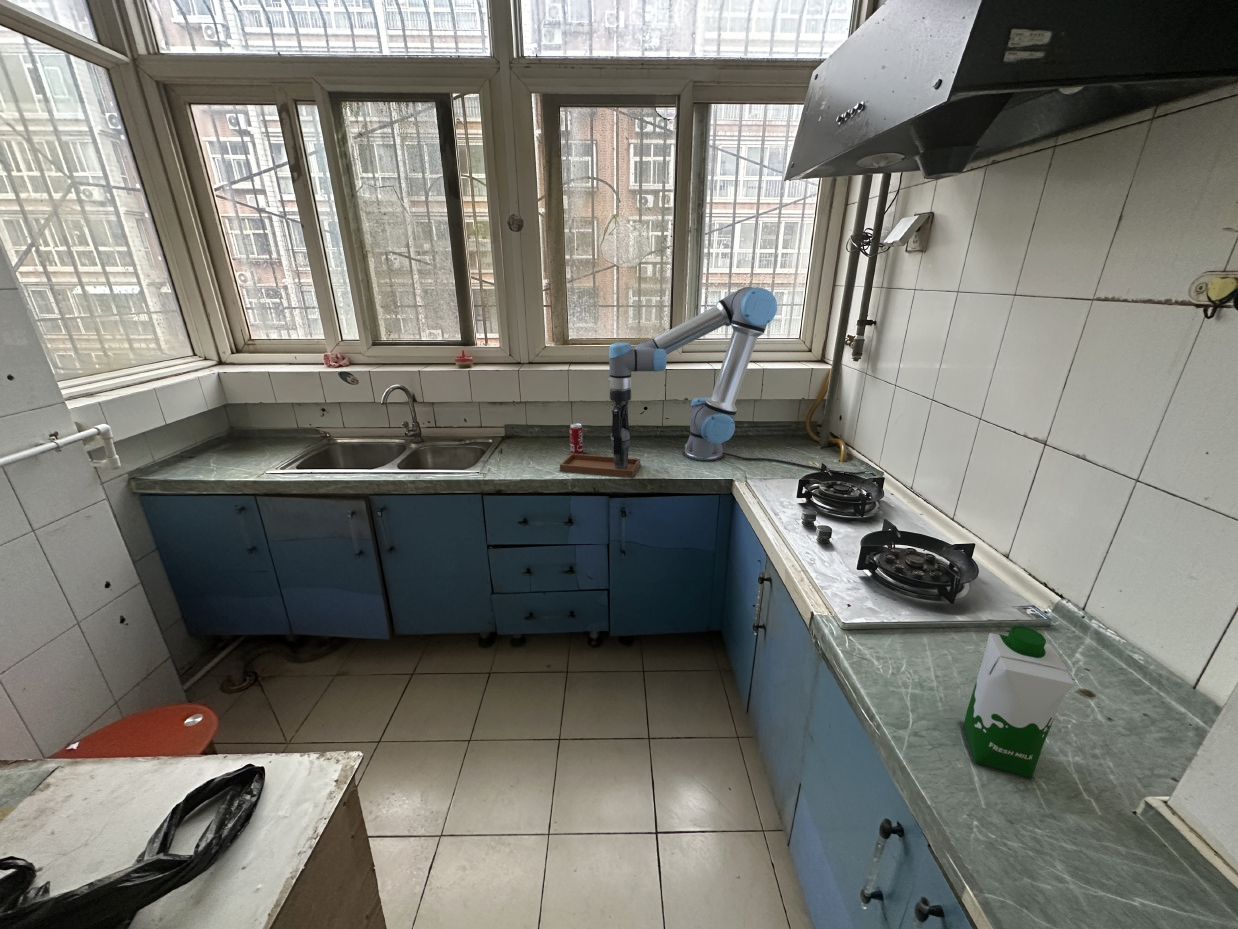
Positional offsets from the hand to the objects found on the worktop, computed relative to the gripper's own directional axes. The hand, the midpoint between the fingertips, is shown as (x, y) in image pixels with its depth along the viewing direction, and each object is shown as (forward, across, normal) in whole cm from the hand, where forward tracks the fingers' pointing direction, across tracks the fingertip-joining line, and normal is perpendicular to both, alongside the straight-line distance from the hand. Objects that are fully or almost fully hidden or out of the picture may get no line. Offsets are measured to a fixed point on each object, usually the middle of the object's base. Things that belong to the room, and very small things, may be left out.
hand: (620, 450), depth 182 cm
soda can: (+8, -14, -22) cm, 27 cm away
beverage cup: (+7, 0, 0) cm, 7 cm away
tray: (+8, 0, -8) cm, 11 cm away
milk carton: (+7, +98, +84) cm, 130 cm away
